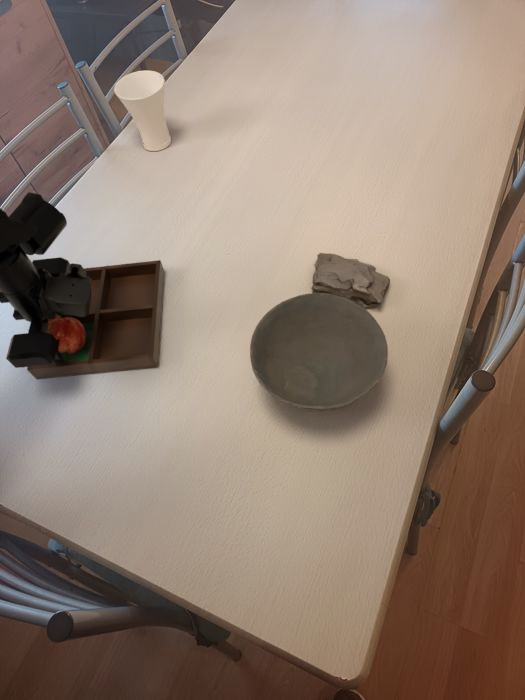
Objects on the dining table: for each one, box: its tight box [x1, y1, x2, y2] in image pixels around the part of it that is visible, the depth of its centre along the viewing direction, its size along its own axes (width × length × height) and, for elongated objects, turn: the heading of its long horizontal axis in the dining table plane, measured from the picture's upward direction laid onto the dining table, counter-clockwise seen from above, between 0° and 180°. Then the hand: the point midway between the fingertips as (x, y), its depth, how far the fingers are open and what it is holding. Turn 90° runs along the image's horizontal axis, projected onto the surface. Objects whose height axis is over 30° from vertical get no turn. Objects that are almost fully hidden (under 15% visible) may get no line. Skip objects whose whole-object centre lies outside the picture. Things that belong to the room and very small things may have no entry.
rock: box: [311, 252, 391, 309], centre depth 85 cm, size 14×9×4 cm
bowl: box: [249, 292, 389, 412], centre depth 73 cm, size 19×19×10 cm
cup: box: [113, 69, 172, 152], centre depth 107 cm, size 10×10×14 cm
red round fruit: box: [47, 315, 86, 354], centre depth 81 cm, size 7×7×10 cm
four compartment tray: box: [26, 259, 166, 380], centre depth 86 cm, size 20×20×3 cm
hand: (65, 340), depth 82 cm, fingers open, 8 cm apart
